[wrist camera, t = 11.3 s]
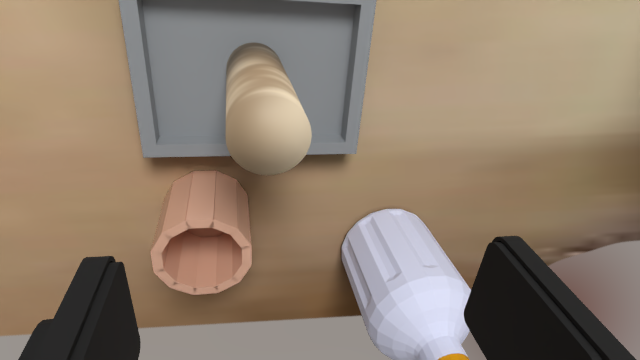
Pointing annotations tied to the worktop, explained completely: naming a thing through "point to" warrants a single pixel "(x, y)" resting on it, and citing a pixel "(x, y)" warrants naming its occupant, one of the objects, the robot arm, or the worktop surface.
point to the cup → (203, 234)
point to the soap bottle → (406, 287)
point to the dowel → (263, 113)
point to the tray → (212, 56)
